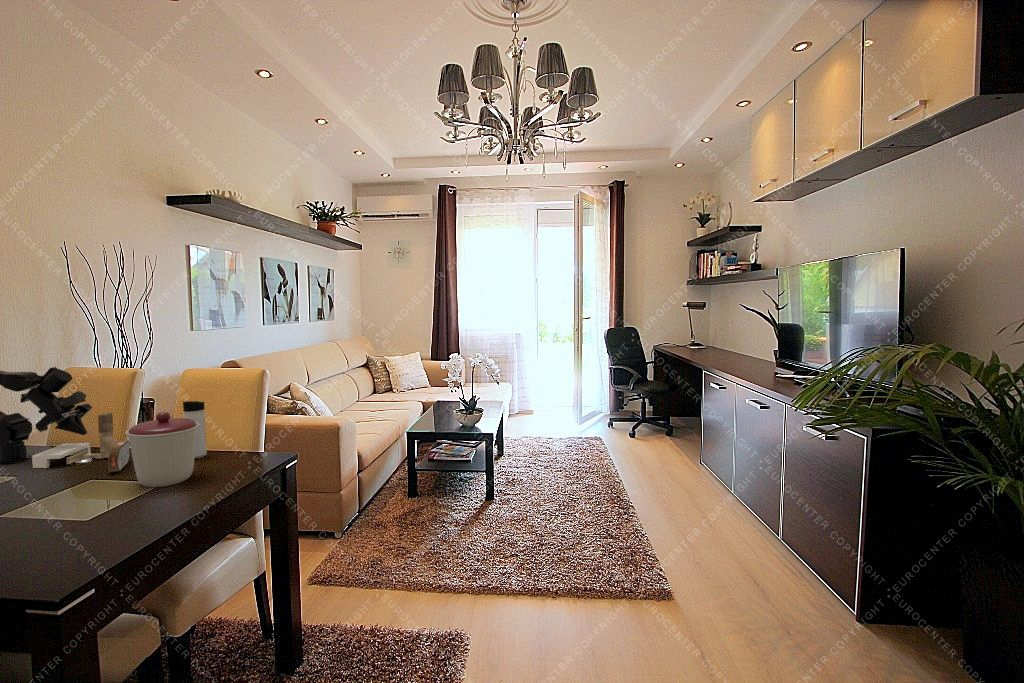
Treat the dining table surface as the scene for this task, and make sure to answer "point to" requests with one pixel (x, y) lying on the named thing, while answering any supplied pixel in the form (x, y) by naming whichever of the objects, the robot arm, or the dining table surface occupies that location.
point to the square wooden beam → (105, 439)
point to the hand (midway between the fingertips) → (85, 433)
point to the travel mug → (197, 413)
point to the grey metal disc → (83, 460)
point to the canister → (163, 450)
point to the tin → (118, 455)
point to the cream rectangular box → (58, 453)
